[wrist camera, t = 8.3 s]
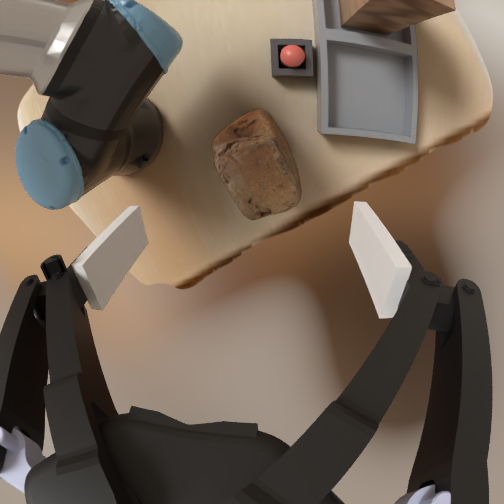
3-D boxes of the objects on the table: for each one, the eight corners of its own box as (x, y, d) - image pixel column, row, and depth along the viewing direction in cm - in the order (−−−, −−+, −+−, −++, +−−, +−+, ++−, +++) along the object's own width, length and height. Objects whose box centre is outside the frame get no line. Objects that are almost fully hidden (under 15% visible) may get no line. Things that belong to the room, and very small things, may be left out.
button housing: (272, 76, 35) (272, 74, 33) (270, 42, 32) (270, 38, 30) (310, 77, 35) (313, 75, 32) (309, 43, 32) (311, 39, 29)
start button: (280, 68, 34) (281, 65, 31) (279, 48, 32) (280, 44, 29) (302, 68, 33) (305, 66, 30) (301, 49, 32) (304, 45, 29)
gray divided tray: (317, 130, 39) (321, 133, 36) (308, -35, 22) (311, -45, 19) (404, 139, 38) (415, 143, 35) (397, -18, 21) (406, -25, 18)
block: (296, 161, 43) (312, 208, 26) (255, 178, 45) (244, 235, 28) (267, 103, 38) (264, 105, 21) (225, 122, 40) (190, 142, 23)
